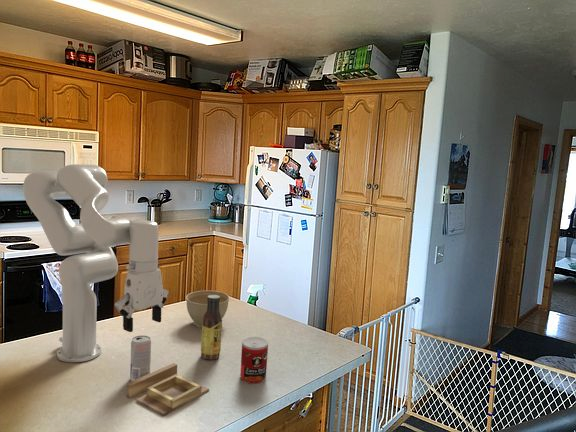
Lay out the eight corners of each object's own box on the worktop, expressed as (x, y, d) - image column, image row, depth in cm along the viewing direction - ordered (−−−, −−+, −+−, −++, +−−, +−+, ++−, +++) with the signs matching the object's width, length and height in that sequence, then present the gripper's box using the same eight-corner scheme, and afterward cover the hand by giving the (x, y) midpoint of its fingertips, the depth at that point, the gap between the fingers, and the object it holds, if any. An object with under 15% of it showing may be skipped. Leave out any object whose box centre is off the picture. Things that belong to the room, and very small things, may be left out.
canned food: (242, 385, 129) (244, 348, 127) (238, 371, 136) (240, 337, 135) (268, 383, 131) (271, 347, 129) (262, 370, 138) (265, 336, 137)
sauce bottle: (216, 361, 142) (219, 301, 139) (197, 358, 143) (200, 298, 140) (223, 353, 148) (226, 295, 145) (205, 350, 149) (208, 292, 147)
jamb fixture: (126, 396, 119) (127, 383, 118) (173, 374, 132) (173, 362, 132) (163, 416, 111) (164, 402, 110) (208, 390, 124) (209, 378, 124)
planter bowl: (183, 317, 177) (184, 290, 176) (224, 316, 182) (225, 290, 181) (186, 333, 162) (187, 304, 161) (231, 331, 167) (232, 303, 165)
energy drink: (143, 372, 132) (144, 333, 130) (153, 379, 128) (155, 339, 127) (126, 378, 127) (127, 338, 126) (137, 385, 124) (138, 344, 123)
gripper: (125, 273, 114) (124, 338, 116) (176, 263, 129) (175, 320, 131) (107, 268, 118) (107, 331, 120) (159, 258, 133) (158, 314, 135)
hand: (142, 325), depth 126 cm, fingers open, 9 cm apart
